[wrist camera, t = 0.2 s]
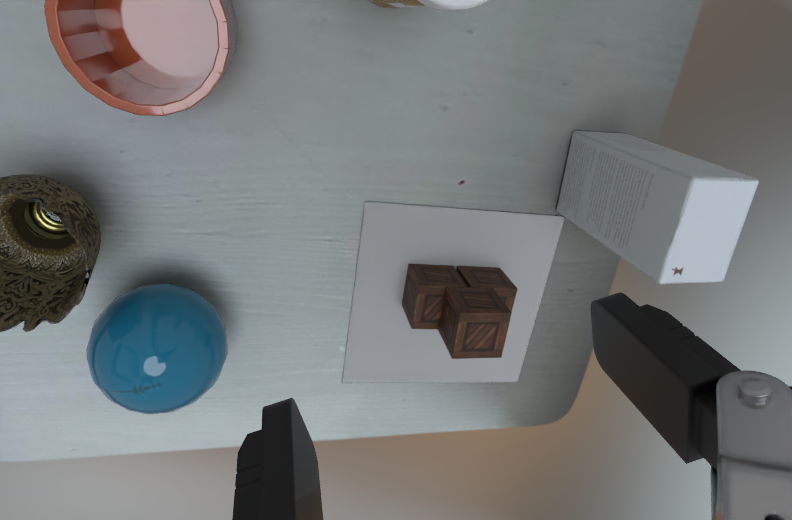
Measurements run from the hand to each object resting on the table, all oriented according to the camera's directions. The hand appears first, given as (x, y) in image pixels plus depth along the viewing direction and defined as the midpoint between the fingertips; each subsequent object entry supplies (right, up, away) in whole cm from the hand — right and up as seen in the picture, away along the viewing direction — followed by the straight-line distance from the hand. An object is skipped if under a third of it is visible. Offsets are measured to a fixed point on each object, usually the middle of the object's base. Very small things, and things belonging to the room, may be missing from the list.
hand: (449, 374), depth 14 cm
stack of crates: (+3, 0, +27) cm, 27 cm away
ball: (-17, -1, +23) cm, 29 cm away
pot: (-14, +16, +16) cm, 26 cm away
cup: (-22, +6, +19) cm, 29 cm away
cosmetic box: (+12, +9, +25) cm, 29 cm away
